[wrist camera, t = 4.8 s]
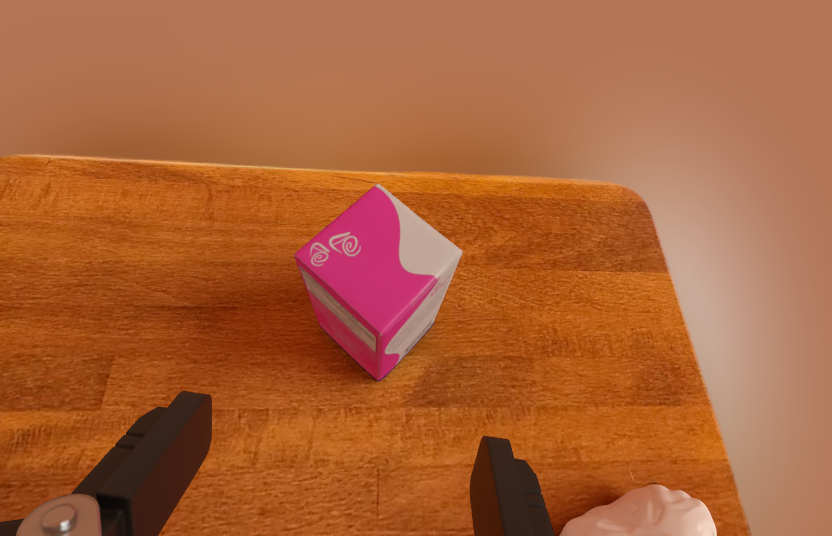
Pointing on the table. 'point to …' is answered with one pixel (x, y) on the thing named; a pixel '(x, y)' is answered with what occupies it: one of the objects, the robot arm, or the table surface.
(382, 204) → the supplement box
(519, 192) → the table surface
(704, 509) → the pink lumpy shape
